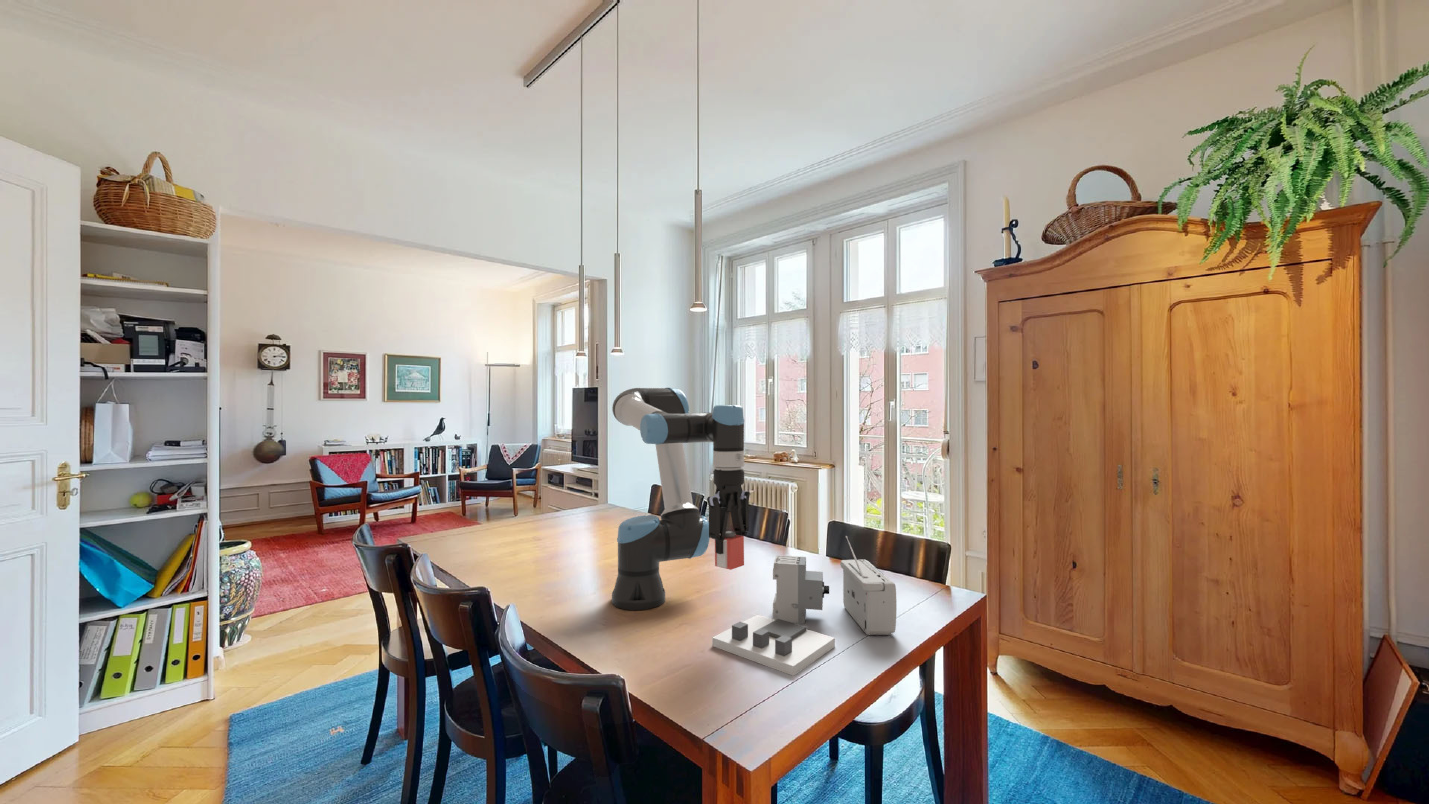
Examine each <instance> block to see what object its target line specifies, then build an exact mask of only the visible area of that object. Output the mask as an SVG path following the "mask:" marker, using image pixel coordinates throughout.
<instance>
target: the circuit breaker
mask: <svg viewBox="0 0 1429 804" xmlns="http://www.w3.org/2000/svg"><path fill="white" fill-rule="evenodd" d="M823 574H824V573H823V571H817V570H807V557H806V556H798V555H797V556H796V555H795V556H794V555H778V554H776V556H775V559H774V563H773V569H772V580H776V581H775V582H776V583H775V586H776V593H775V595H774V599H773V602H772V619H774V620H777V619H781V620H784V621H788V622H791V623H794V624H805V622H806V616H807V610H814V611H816V610H818V611H823V606H824V605H823V604H824V602H823V601H824V598H825V595H830V585H825V581H823V580H824V575H823Z"/></svg>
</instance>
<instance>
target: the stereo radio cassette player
mask: <svg viewBox="0 0 1429 804" xmlns="http://www.w3.org/2000/svg"><path fill="white" fill-rule="evenodd" d="M845 539H847V543H848V546H849V548H850V551H851V554H852V557H853V559H842V560H840V568H841V569H842V571H843V573H842V574H843V575H842V576H843V579H842V580H843V581H842V582H843V587H842V588H843V589H842V591H843V592H842V595H843V597H842V600H843V607H844V608H845V610H846V611H847V612H848V613H849V615H850V616H851V617H852V618H853V620H854V621H855V622H856V624H858V626H859V627H860V628H861V630H862V631H863V632H864V633H865V634H866V635H867V636H871V635H874V636H880V635H881V636H882V635H887V636H889V635H890V636H891V635H892V634H893V633H894V634H895V633H896V626H897V587H896V584H895V582H894V581H893V580H891V579H890V578H889V577H887V575H885V574H884V573H883V572H881V571H880V569H878V568H877V567H876V566H875V565H874V564H872V563H871V562H870V561H869V560H866V559H857V557H856V555H855V552H854V550H853V548H852V546H851V543H850V541H849V539H848V536H847V535H845Z"/></svg>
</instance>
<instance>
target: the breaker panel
mask: <svg viewBox="0 0 1429 804" xmlns="http://www.w3.org/2000/svg"><path fill="white" fill-rule="evenodd" d="M711 644H712V647H714V648H717V649H720V650H723V651H725V652H727V653H730V654H732V655H733V654H734V655H736V656H738V657H741V658H743V659H746V660H748V661H749V660H750V661H752V662H754V663H758V664H760V665H764V666H766V667H767V668H768V667H769V668H771V669H774V670H776V671H780V672H782V673H785V674H787V675H790V676H795V675H797V674H798V673H799V672H801V671H803V670H804V669H805V668H807V667H808V666H809V665H811V664H812V663H813V662H815V661H816V660H818V659H819V658H820V657H822V656H824V655H825V654H827V653H828V652H829V651H831V650H832V649H833V648H835V647H836V638H835V637H834V636H830V635H826V634H823V633H820V632H818V631H817V632H816V631H814V630H810V629H807V626H804V625H800V624H799V623H792V622H788V621H784V620H781V619H777V620H774V619H773V618H770V617H767V616H763V615H760V614H756V615H754V616H752V617H749V618H748V619H746V620H744V621H737V622H735V623H734V624H732V625H731V627H730V628H728V629H726V630H724V631H722V632H720V633H719V634H716V635H715V636H713V637H712V643H711Z"/></svg>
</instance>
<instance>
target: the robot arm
mask: <svg viewBox="0 0 1429 804" xmlns="http://www.w3.org/2000/svg"><path fill="white" fill-rule="evenodd" d="M611 409H612V414H613V416H614V417H613V418H615V420H616V421H618V422H619V423H621V424H622V425H624V426H626V427H627V426H628V427H629V426H630V427H633V428H635V429H637V430H638V431H639V432H640V437H641V440H642V441H643V442H644V443H645V444H647V445H655V451H656V456H657V457H656V458H657V464H658V472H659V479H660V484H661V492H662V498H663V499H662V500H663V505H664V506H663V507H664V510H663V511H662V513H661V514H660V519H659V516H657V515H653V514H649V515H646V514H645V515H638V516H634V517H630V518H627V519H625V520H623V521H622V522H621V523H619V526H618V530H617V539H616V540H617V577H616V579H615V580H616V581H615V584H614V588H613V591H612V593H611V604H612V605H613V606H614V607H616V608H618V609H621V610H628V611H643V610H649V609H653V608H657V607H659V606H661V605H663V604H664V603H665V602H666V590H665V588H664V583H663V581H662V577H661V574H660V562H668V561H677V560H684V559H689V560H691V559H692V558H697V557H701V556H703V555H704V554H706V552H707V550H708V548H709V544H710V539H712V540H714V542H715V541H716V553H717V566H718V567H719V568H721V567H723V568H722V569H725V568H727V540H724V539H725V533H726V531H727V526H728V519H729V513H730V517H731V522H732V528H733V532H735V535H739V536H744V537H746V536H747V535H748V532H749V530H750V517H749V515H750V513H749V509H750V508H749V501H750V495H751V493H750V491H749V490H748V491H747V490H743V488H742V485H744V484H745V470H744V469H743V467H744V466H745V454H744V451H745V418H744V408H743V407H742V406H741V405H738V404H724V405H723V404H721V405H719V404H717V405H715V406H713V409H712V412H699V413H698V412H693V413H692V412H691V413H690V406H689V401H688V398H687V397H686V395H685V393H684V392H683V391H682V390H681V389H678V388H673V387H672V388H671V387H663V388H662V387H660V388H659V387H653V388H652V387H651V388H650V387H634V388H629V389H626V390H624V391H622V392H620V393H619V394H618V395H617V396H616V398H615V399H613V403H612V408H611ZM686 443H689V444H690V443H694V444H696V443H712V445H713V446H712V447H713V448H712V455H713V456H712V461H713V462H712V464H713V465H712V466H713V467H714V468H715V469H713V484H714V485H715V487H716V488H715V492H714V493H715V494H713V496H708V497H707V498H706V501H707V505H708V518H707V517H706V516H704V515H701V513H700V509H699V508H698V507H697V506H696V505H694V503H693V502H694V501H693V497H692V492H691V491H692V489H691V484H690V478H689V477H690V476H689V471H688V466H687V465H688V464H687V461H686V460H687V459H686V453H685V448H684V444H686ZM717 566H716V567H717Z"/></svg>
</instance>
